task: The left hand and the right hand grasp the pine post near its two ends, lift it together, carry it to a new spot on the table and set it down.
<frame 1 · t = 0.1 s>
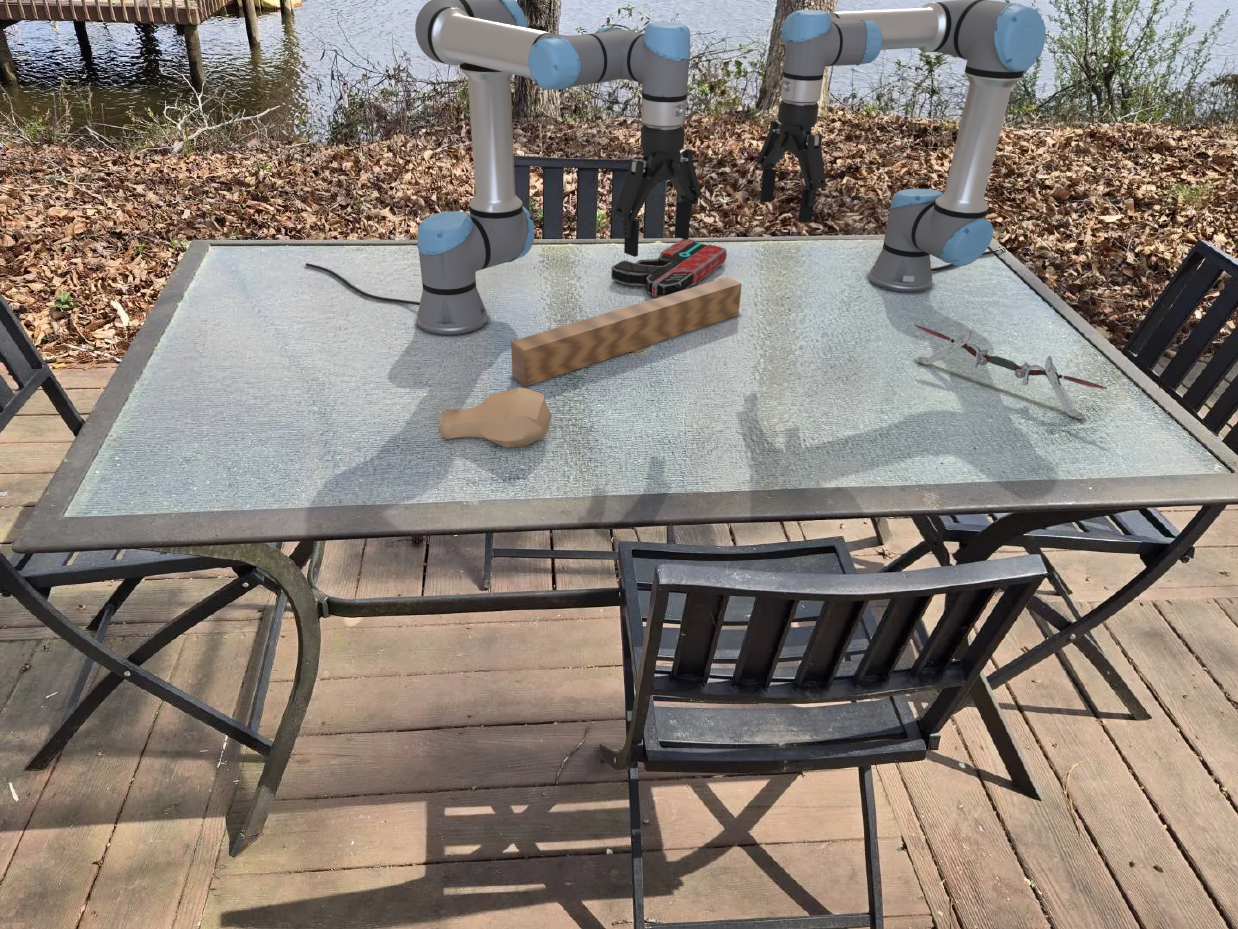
left hand: (657, 245, 161), 28 cm above the table, tool pointing down, fingers open, 13 cm apart
right hand: (784, 211, 180), 28 cm above the table, tool pointing down, fingers open, 13 cm apart
post: (633, 344, 190), on the table
squash: (496, 438, 157), on the table
bow: (995, 389, 177), on the table
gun: (670, 274, 224), on the table
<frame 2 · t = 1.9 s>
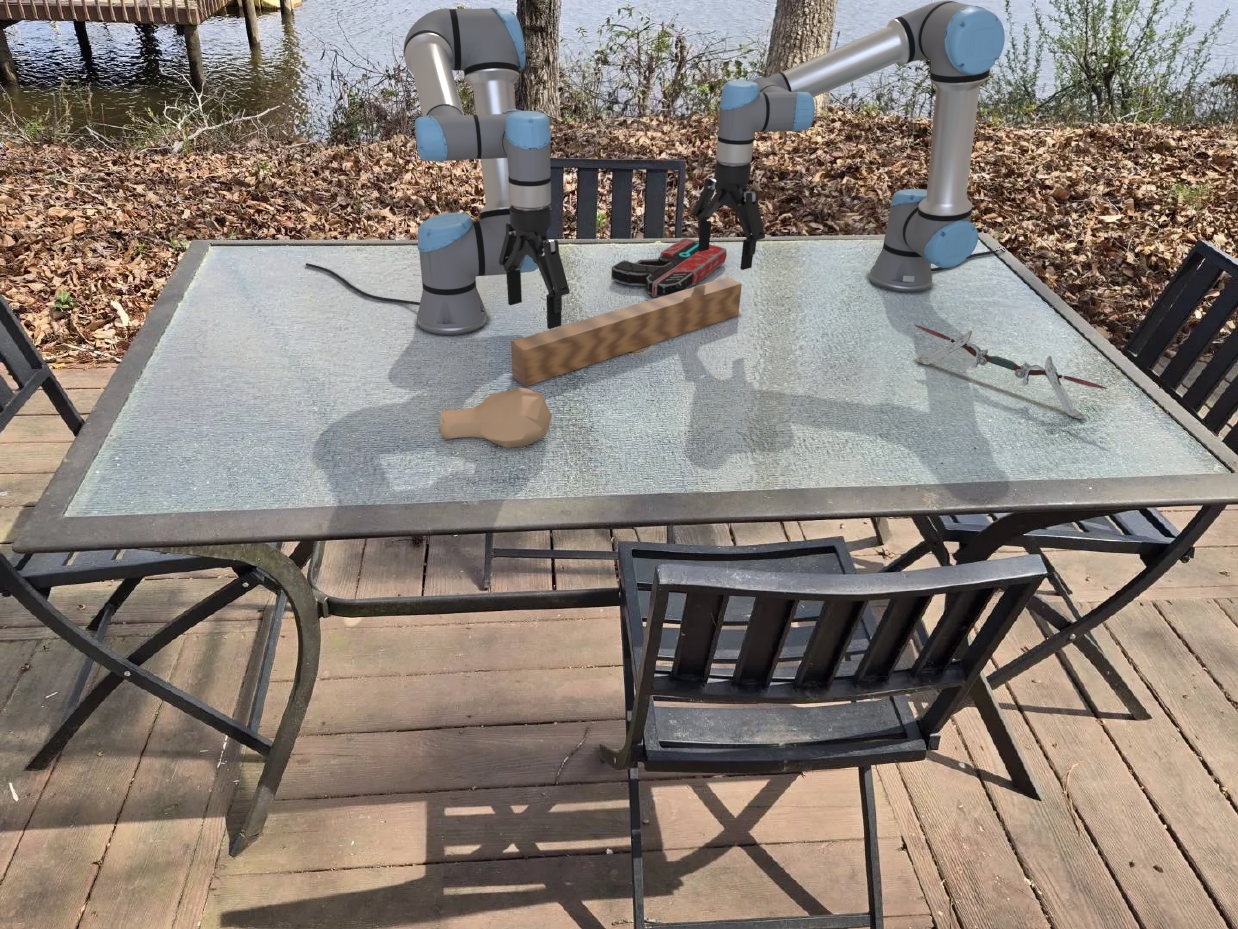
left hand: (534, 314, 169), 13 cm above the table, tool pointing down, fingers open, 13 cm apart
right hand: (724, 259, 195), 14 cm above the table, tool pointing down, fingers open, 13 cm apart
nothing on the table moved.
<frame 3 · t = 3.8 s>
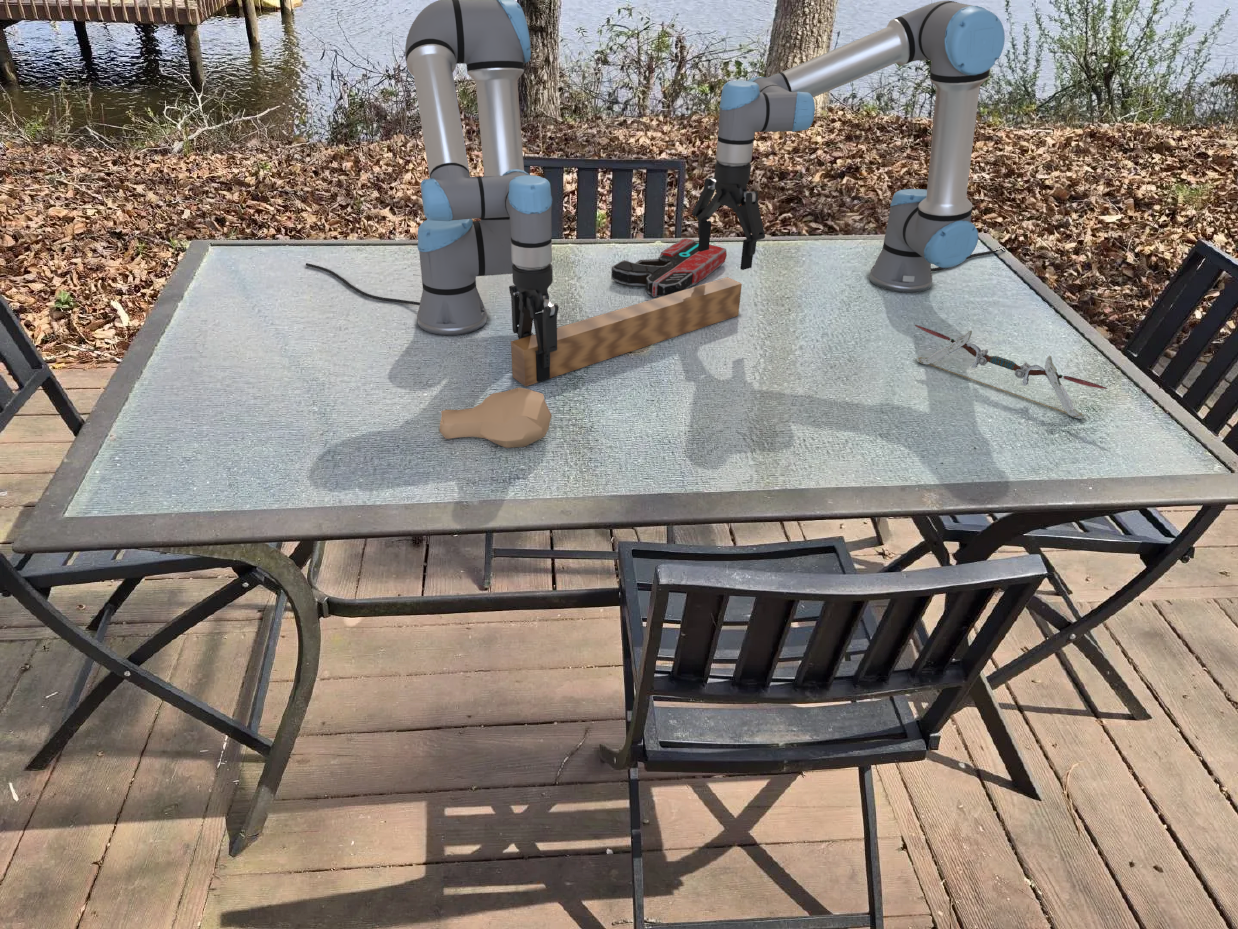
left hand: (535, 374, 176), 1 cm above the table, tool pointing down, fingers closed on post, 5 cm apart
right hand: (724, 259, 195), 14 cm above the table, tool pointing down, fingers open, 13 cm apart
post: (633, 344, 190), on the table, touching left hand
everything else where it was.
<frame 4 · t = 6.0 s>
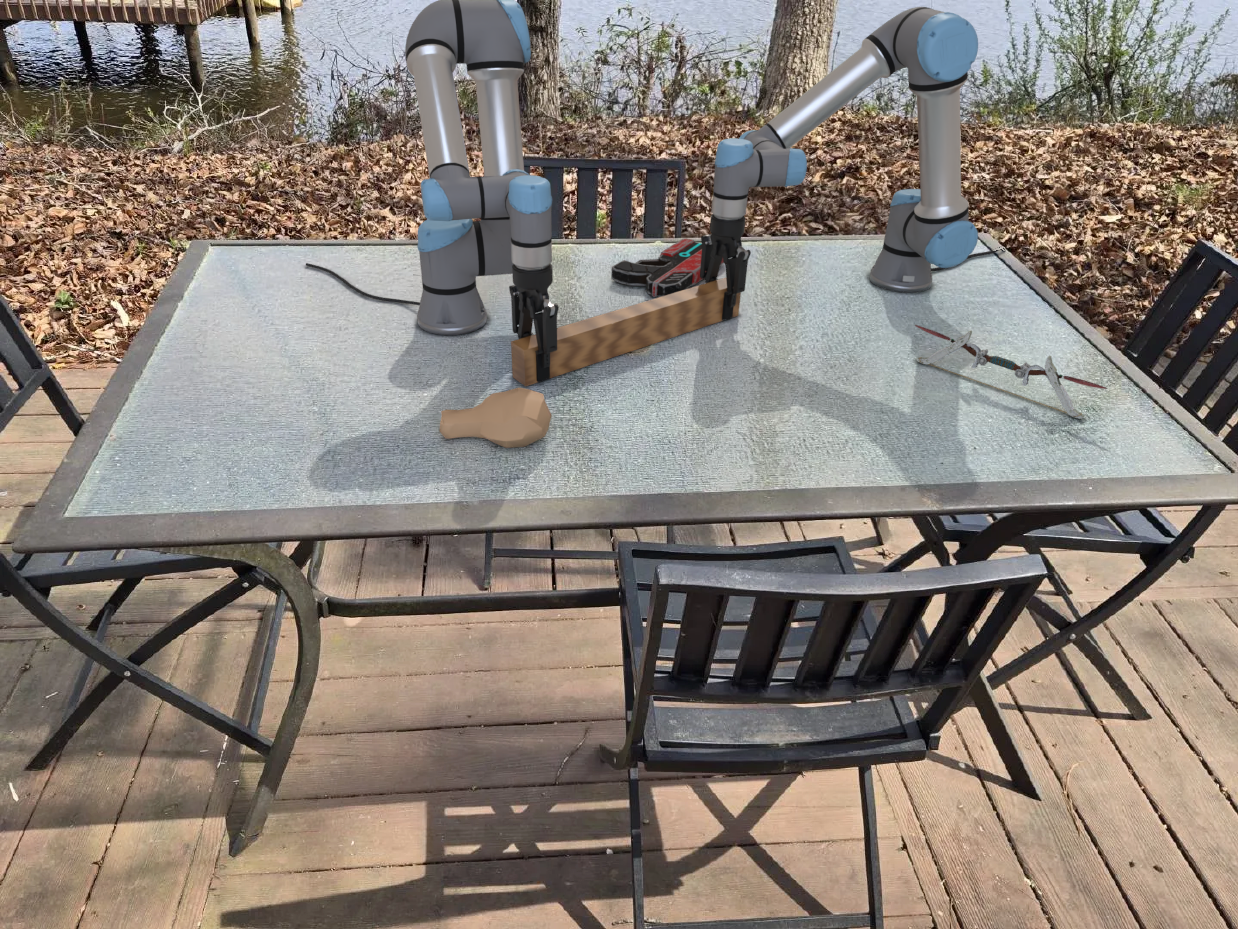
left hand: (535, 374, 176), 1 cm above the table, tool pointing down, fingers closed on post, 5 cm apart
right hand: (718, 314, 203), 1 cm above the table, tool pointing down, fingers closed on post, 5 cm apart
post: (633, 344, 190), on the table, touching left hand, right hand
everything else where it was.
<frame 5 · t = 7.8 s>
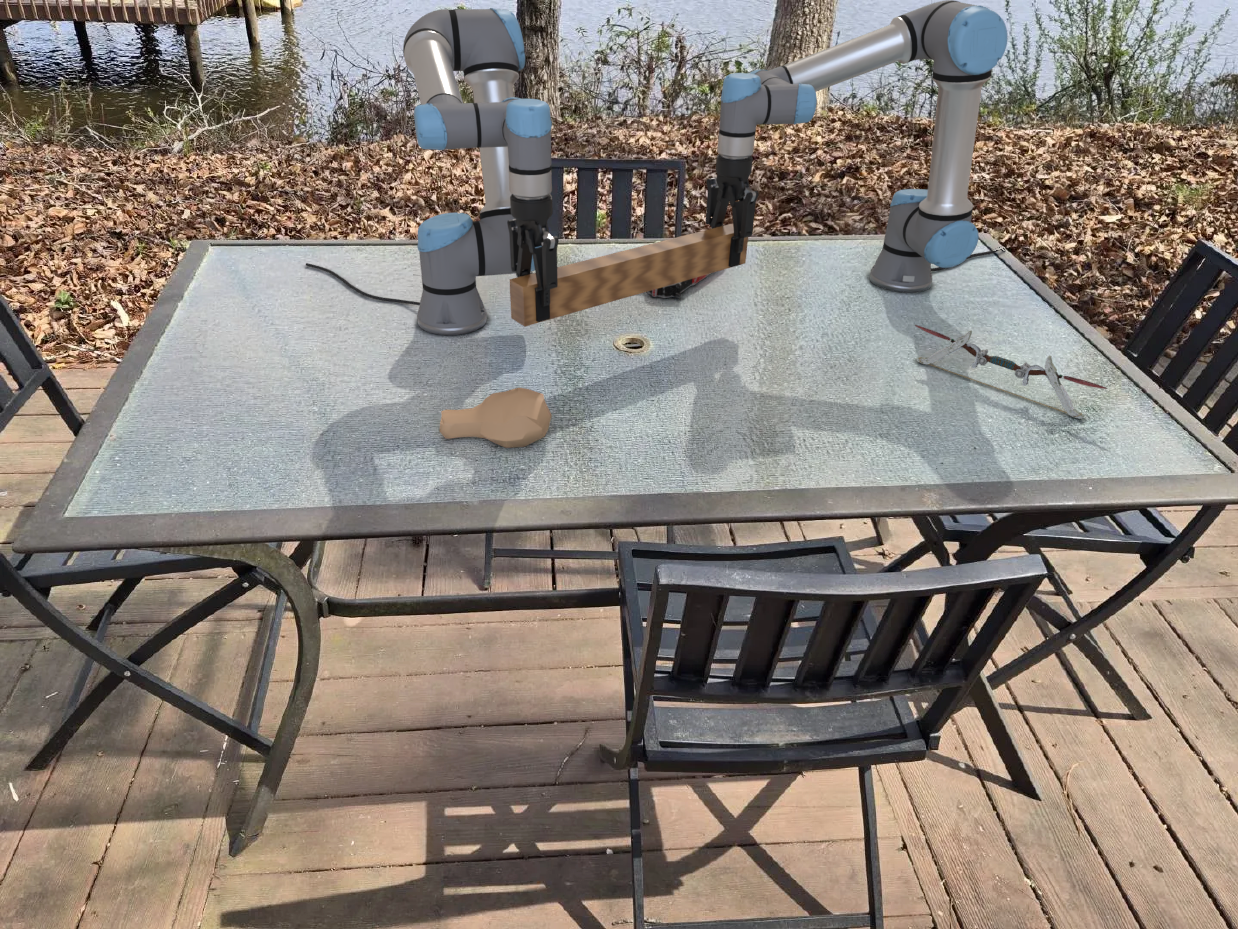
left hand: (535, 314, 169), 13 cm above the table, tool pointing down, fingers closed on post, 5 cm apart
right hand: (725, 261, 196), 13 cm above the table, tool pointing down, fingers closed on post, 5 cm apart
post: (637, 288, 183), point 13 cm above the table, touching left hand, right hand
everything else where it was.
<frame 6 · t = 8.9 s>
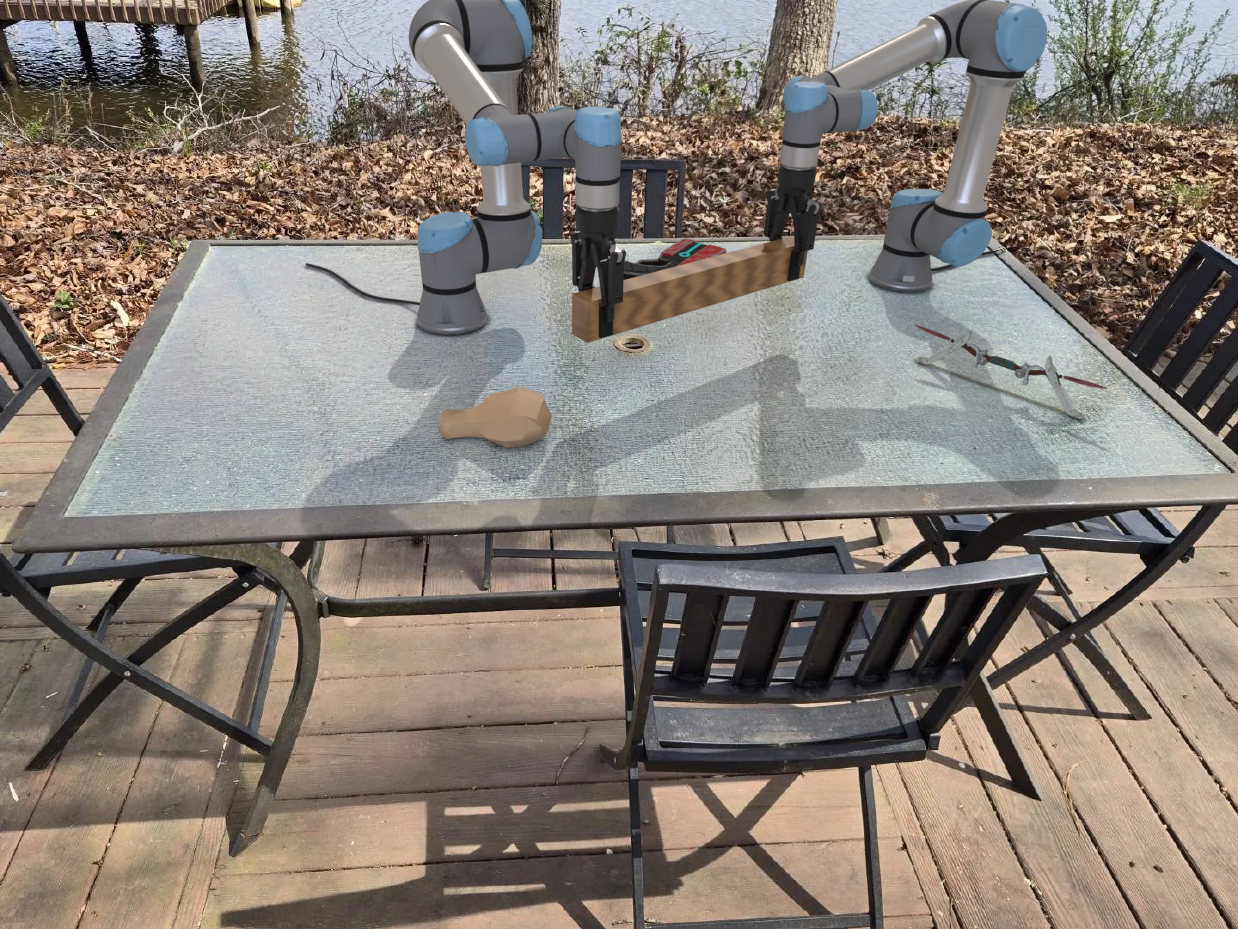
left hand: (596, 330, 162), 14 cm above the table, tool pointing down, fingers closed on post, 5 cm apart
right hand: (783, 275, 190), 13 cm above the table, tool pointing down, fingers closed on post, 5 cm apart
post: (697, 303, 176), point 13 cm above the table, touching left hand, right hand
everything else where it was.
when the left hand's fingers open (2 cm above the table, at t = 12.0 s): post drops 2 cm, on the table.
when the right hand's fingers open (2 cm above the table, at t = 12.0 s): post drops 2 cm, on the table.
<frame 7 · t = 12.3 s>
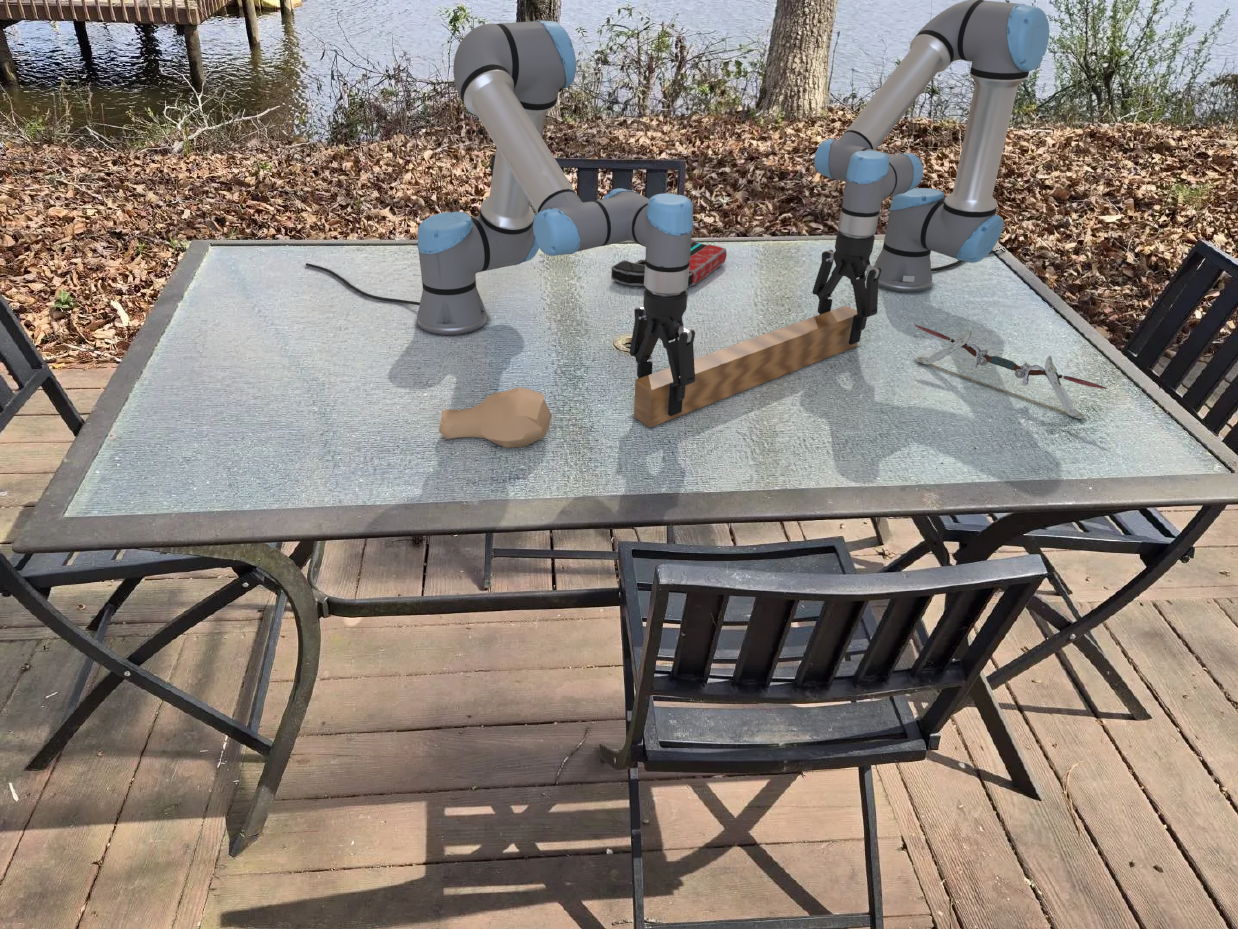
left hand: (659, 403, 163), 3 cm above the table, tool pointing down, fingers open, 8 cm apart
right hand: (837, 335, 189), 3 cm above the table, tool pointing down, fingers open, 8 cm apart
post: (753, 378, 178), on the table
everything else where it was.
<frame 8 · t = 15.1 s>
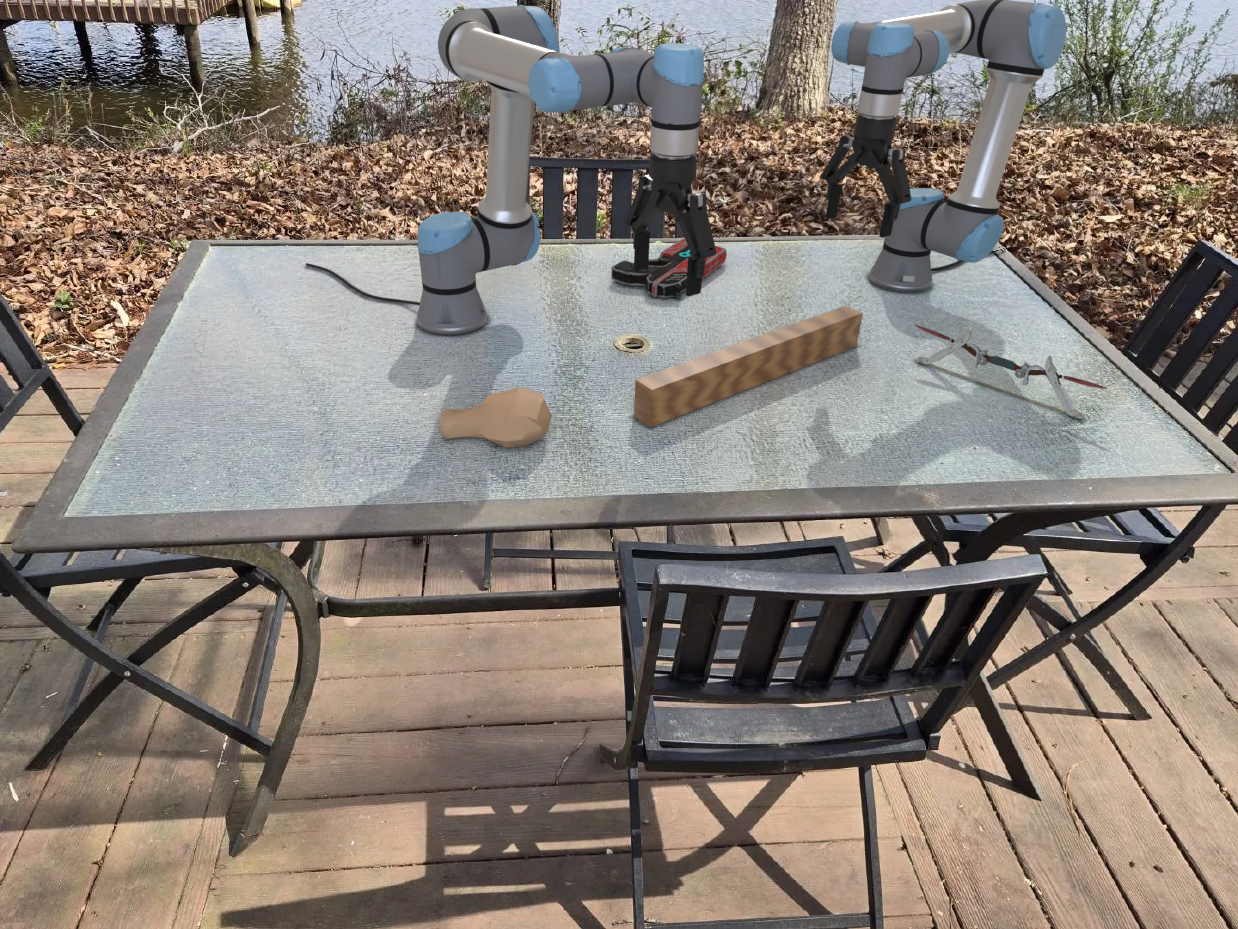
left hand: (666, 281, 150), 27 cm above the table, tool pointing down, fingers open, 13 cm apart
right hand: (857, 226, 176), 27 cm above the table, tool pointing down, fingers open, 13 cm apart
nothing on the table moved.
at the end: post inside the target area (0.1 cm from its centre), on the table; post tilted 0°; post never tilted more than 1° during the clip; both hands held the post at the same time; the left hand is holding nothing; the right hand is holding nothing; post at rest at the end (0.0 cm/s) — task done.
